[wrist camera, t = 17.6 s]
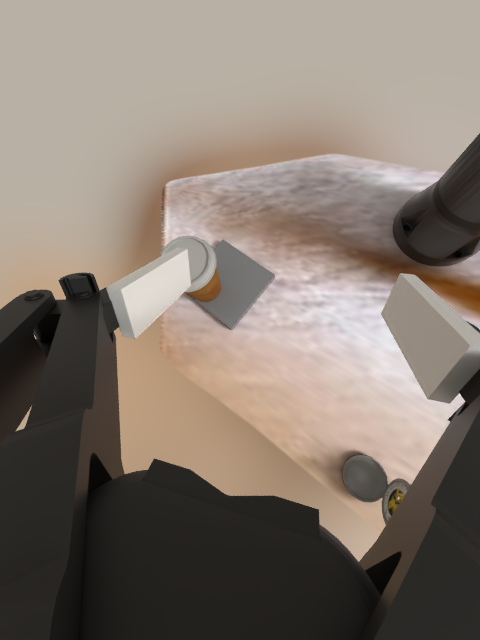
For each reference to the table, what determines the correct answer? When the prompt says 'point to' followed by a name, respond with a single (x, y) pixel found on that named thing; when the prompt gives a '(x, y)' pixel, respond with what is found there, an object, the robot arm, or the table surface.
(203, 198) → the table surface
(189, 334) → the table surface
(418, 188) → the table surface
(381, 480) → the pocket watch
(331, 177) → the table surface
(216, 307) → the slate tile
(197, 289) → the disposable coffee cup
